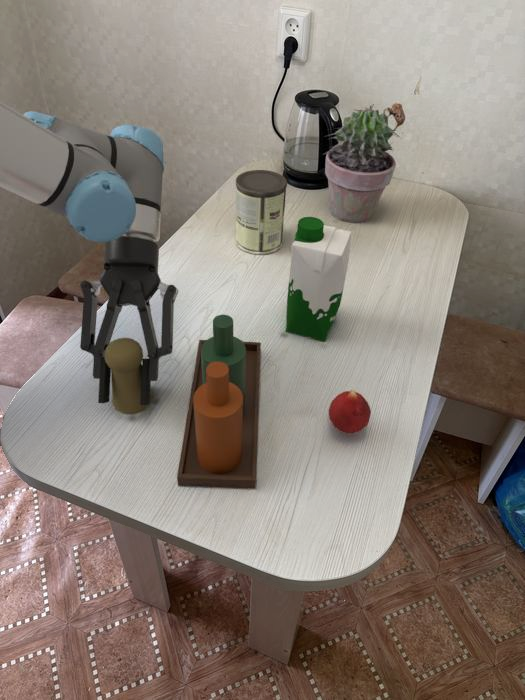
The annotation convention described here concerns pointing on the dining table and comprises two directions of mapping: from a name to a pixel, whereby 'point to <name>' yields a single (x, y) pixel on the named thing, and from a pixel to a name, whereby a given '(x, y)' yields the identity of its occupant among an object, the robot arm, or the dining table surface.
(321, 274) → the milk carton
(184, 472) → the tray
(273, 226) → the coffee can
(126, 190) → the robot arm
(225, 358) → the green bottle
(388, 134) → the potted plant
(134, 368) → the cork
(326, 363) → the dining table surface
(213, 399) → the amber bottle
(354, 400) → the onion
